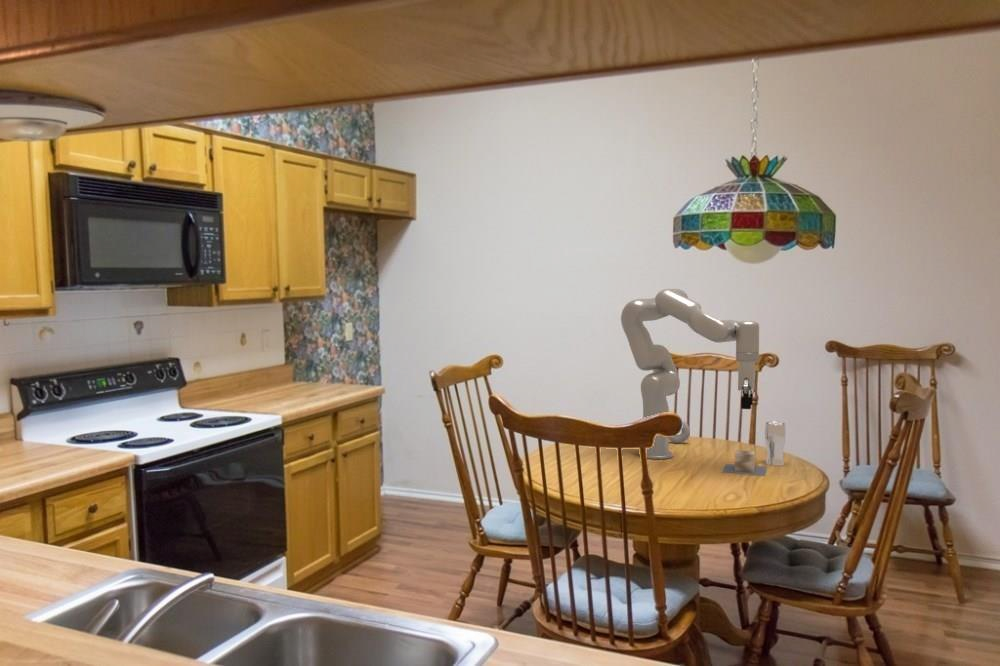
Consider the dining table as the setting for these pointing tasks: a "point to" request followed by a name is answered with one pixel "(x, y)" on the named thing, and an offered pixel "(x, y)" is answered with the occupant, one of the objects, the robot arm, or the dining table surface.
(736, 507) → the dining table surface
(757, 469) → the gray mat
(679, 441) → the donut
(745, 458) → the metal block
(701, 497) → the dining table surface
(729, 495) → the dining table surface
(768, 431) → the beer glass
